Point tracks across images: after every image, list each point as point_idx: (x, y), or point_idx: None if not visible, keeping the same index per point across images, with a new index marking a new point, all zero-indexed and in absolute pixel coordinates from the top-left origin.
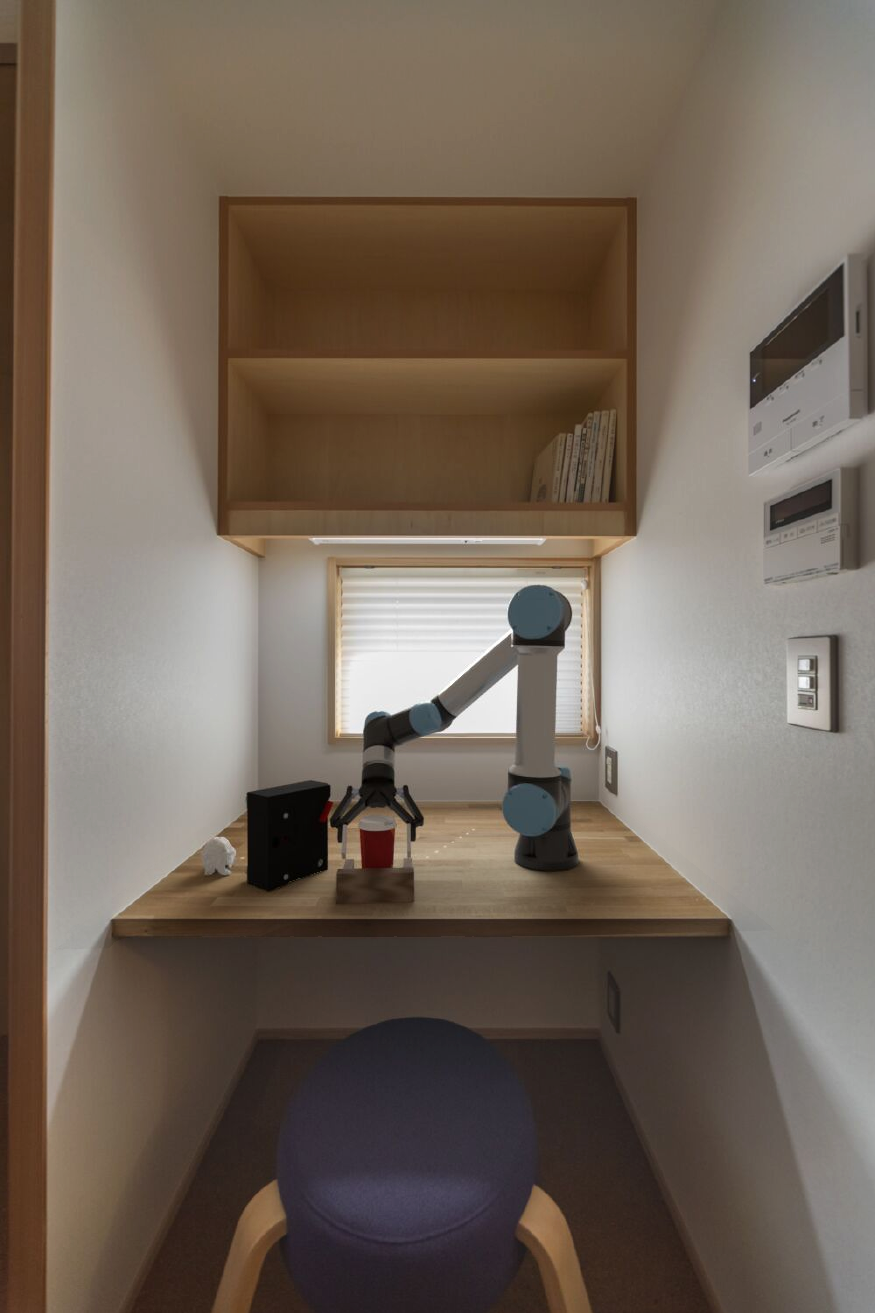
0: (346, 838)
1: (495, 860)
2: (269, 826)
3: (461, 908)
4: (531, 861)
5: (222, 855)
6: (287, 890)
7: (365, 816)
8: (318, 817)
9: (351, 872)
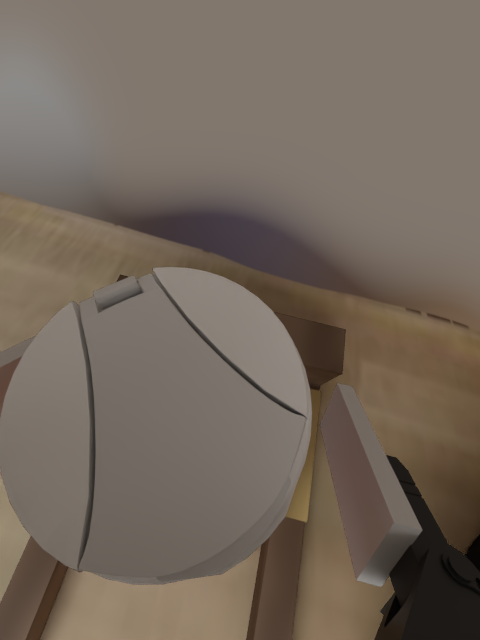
0: (348, 482)
1: None
2: None
3: (66, 255)
4: None
5: None
6: (452, 499)
7: (247, 526)
8: None
9: (300, 327)
